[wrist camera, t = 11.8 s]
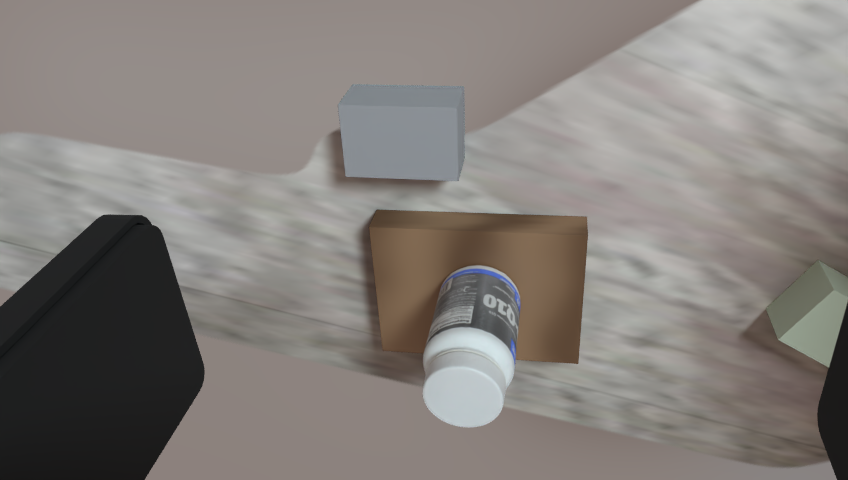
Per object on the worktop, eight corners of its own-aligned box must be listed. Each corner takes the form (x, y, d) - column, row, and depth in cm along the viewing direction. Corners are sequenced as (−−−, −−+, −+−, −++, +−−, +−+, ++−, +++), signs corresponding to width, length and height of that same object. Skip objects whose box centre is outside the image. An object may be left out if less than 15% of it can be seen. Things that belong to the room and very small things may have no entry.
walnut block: (586, 216, 40) (587, 235, 38) (577, 342, 45) (578, 363, 43) (376, 209, 42) (368, 227, 40) (389, 330, 47) (382, 350, 45)
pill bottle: (535, 312, 42) (529, 419, 35) (465, 338, 43) (446, 444, 36) (495, 250, 40) (480, 349, 33) (424, 280, 42) (395, 380, 35)
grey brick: (464, 86, 37) (457, 107, 35) (465, 156, 40) (458, 181, 37) (352, 84, 38) (337, 105, 36) (359, 152, 41) (345, 176, 38)
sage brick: (903, 307, 40) (926, 342, 38) (848, 352, 42) (866, 388, 40) (816, 257, 39) (834, 289, 37) (765, 306, 41) (778, 339, 39)
